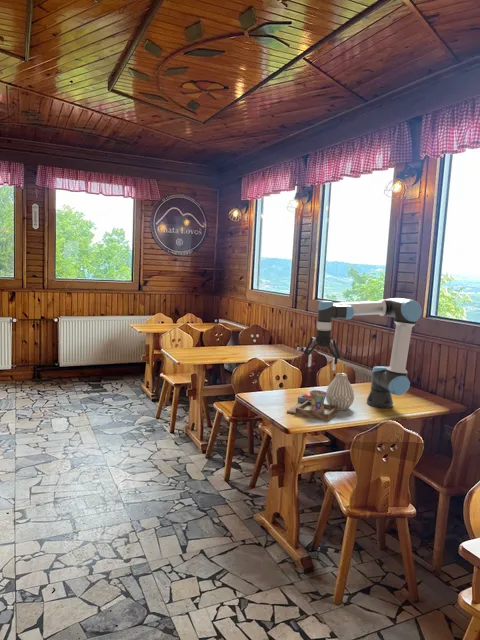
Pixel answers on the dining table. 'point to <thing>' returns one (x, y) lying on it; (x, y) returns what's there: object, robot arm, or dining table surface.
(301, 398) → the button box
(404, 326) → the robot arm
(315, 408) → the mug
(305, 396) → the button
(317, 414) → the wooden tray
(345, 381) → the vase
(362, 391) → the dining table surface
